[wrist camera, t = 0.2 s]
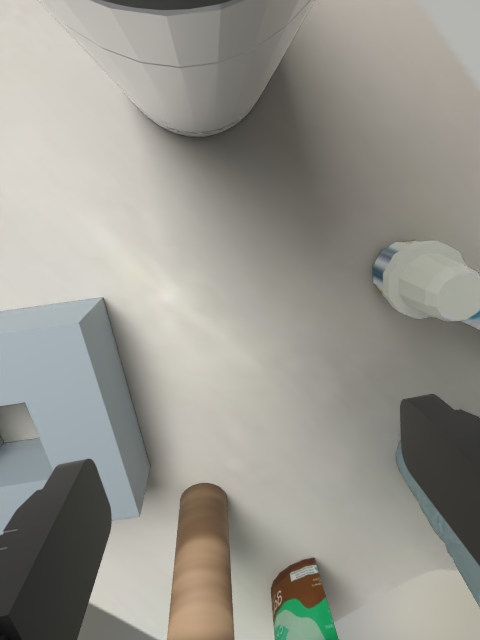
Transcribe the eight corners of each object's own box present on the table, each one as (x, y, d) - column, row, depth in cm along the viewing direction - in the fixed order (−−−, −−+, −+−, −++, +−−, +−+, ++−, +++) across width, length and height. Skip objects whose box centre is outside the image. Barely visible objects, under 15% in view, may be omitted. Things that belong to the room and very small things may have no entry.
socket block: (-123, 328, 25) (-199, 361, 20) (102, 297, 25) (78, 322, 21) (-32, 495, 31) (-75, 550, 26) (150, 467, 31) (139, 516, 27)
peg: (176, 487, 32) (160, 627, 22) (223, 479, 32) (229, 615, 22) (184, 521, 34) (173, 666, 24) (229, 514, 34) (238, 655, 24)
